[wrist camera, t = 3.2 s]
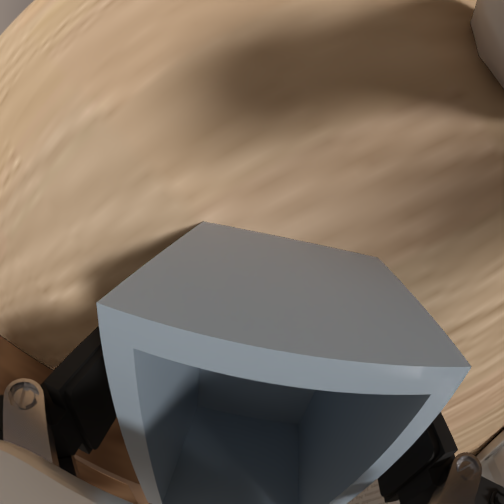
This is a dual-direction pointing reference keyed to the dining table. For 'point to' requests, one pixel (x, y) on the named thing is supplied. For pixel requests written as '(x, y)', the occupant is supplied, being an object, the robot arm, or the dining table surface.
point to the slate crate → (269, 369)
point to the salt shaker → (490, 35)
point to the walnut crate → (89, 465)
